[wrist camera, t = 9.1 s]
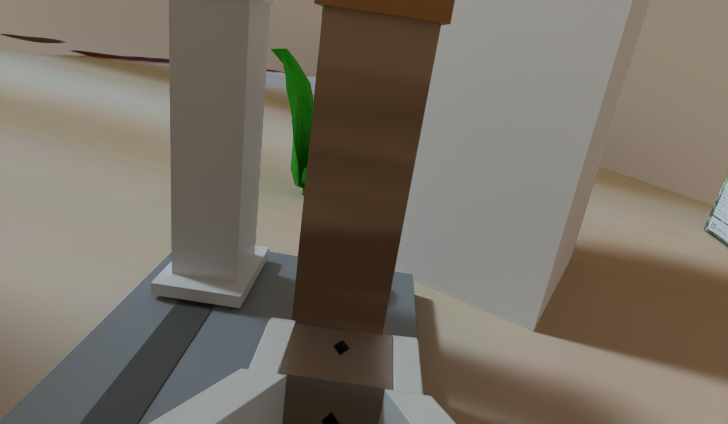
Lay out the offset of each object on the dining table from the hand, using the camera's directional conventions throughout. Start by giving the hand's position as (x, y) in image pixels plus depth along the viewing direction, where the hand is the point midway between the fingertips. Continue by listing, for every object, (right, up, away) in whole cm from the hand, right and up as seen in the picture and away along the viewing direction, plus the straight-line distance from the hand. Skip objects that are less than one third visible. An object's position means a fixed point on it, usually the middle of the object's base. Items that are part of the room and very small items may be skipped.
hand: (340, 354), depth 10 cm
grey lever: (-7, 0, +13) cm, 15 cm away
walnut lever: (-1, -3, +8) cm, 9 cm away
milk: (+8, 0, +23) cm, 24 cm away
